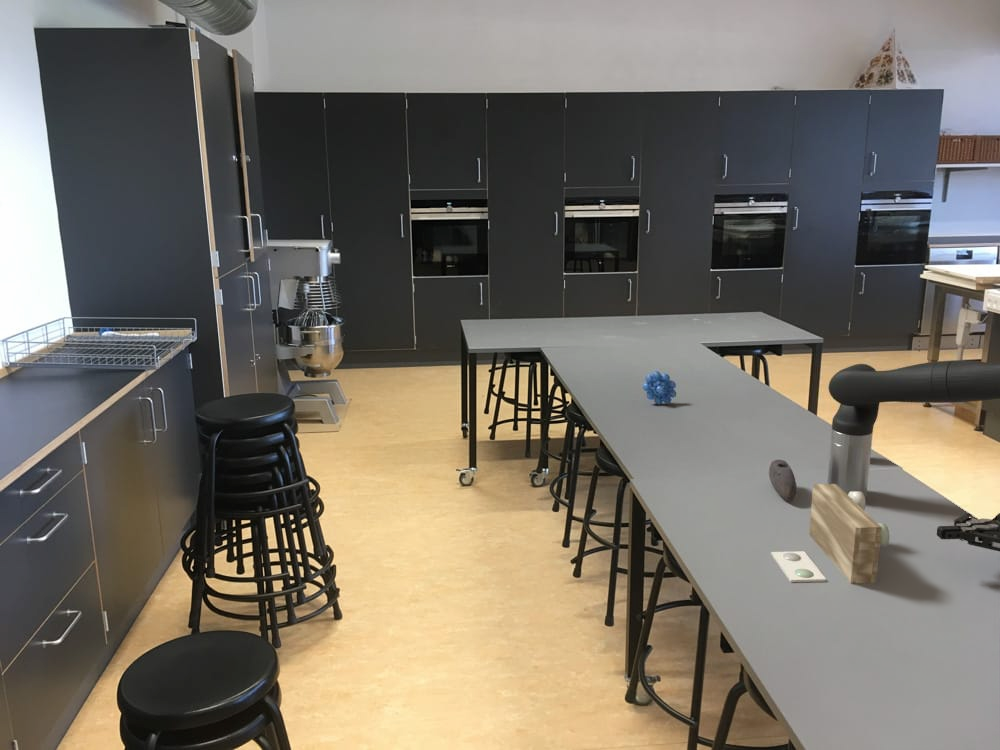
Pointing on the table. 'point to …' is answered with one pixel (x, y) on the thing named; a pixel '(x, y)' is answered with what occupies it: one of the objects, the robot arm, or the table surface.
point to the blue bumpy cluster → (659, 388)
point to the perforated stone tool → (782, 479)
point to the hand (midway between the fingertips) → (939, 532)
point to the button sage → (884, 535)
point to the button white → (858, 498)
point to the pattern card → (798, 567)
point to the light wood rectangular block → (845, 533)
